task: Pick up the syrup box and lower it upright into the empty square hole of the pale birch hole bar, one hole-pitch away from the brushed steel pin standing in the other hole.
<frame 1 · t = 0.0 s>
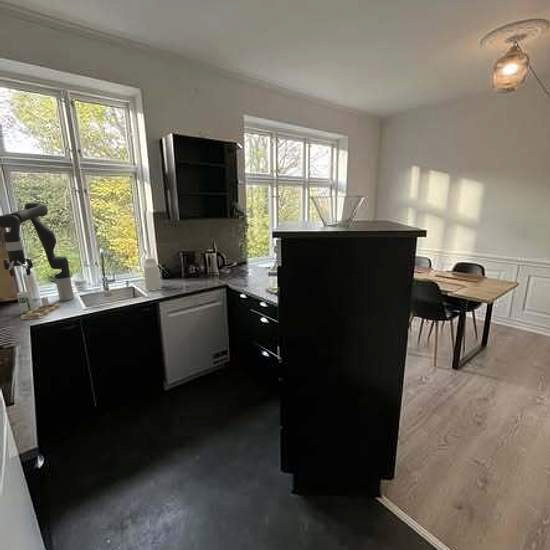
hand: (21, 275, 186), 29 cm above the table, tool pointing down, fingers open, 8 cm apart
steel pin: (46, 310, 211), resting in hole bar
syrup box: (28, 312, 208), on the table
hole bar: (42, 312, 206), on the table
milk: (154, 289, 257), on the table
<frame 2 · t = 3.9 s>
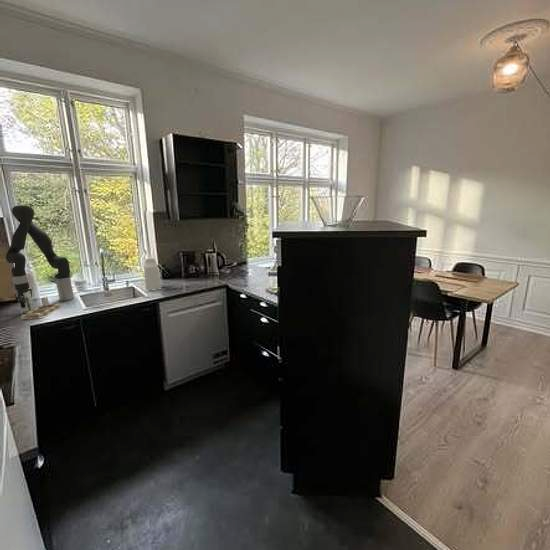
hand: (26, 305, 207), 5 cm above the table, tool pointing down, fingers closed on syrup box, 6 cm apart
syrup box: (28, 312, 208), on the table, touching gripper
everything else where it was.
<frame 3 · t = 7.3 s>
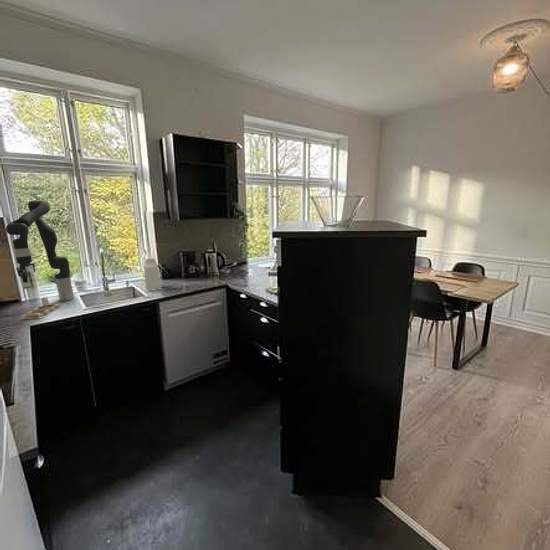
hand: (28, 281, 195), 24 cm above the table, tool pointing down, fingers closed on syrup box, 6 cm apart
syrup box: (30, 288, 196), point 19 cm above the table, touching gripper
everything else where it was.
when the fingers open (6 cm above the table, at t = 10.5 s): syrup box stays where it is, resting in hole bar.
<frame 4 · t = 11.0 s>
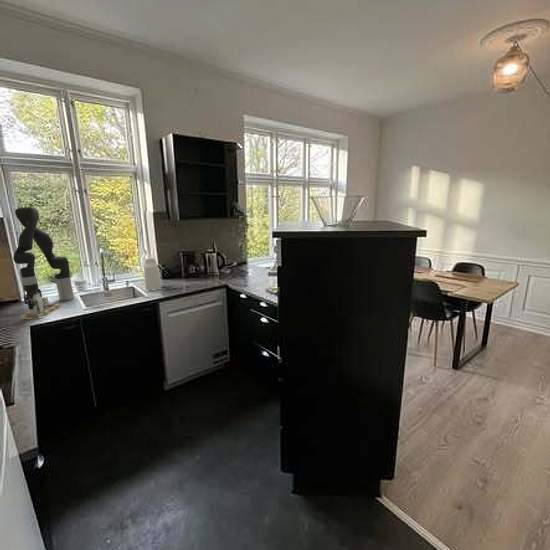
hand: (35, 307, 199), 6 cm above the table, tool pointing down, fingers open, 8 cm apart
syrup box: (37, 315, 201), resting in hole bar
everything else where it was.
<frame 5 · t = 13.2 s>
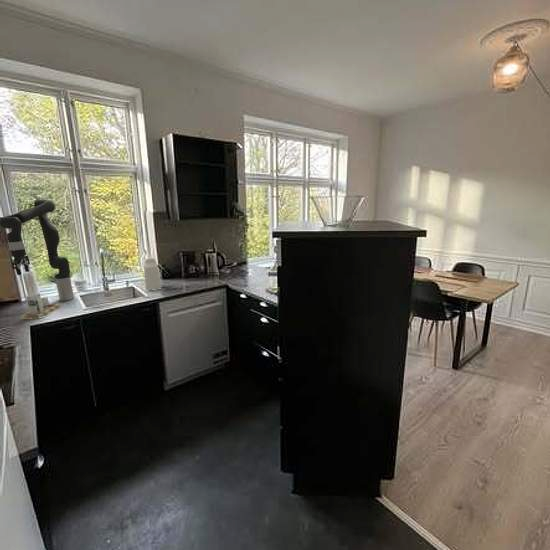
hand: (23, 273, 199), 28 cm above the table, tool pointing down, fingers open, 8 cm apart
nothing on the table moved.
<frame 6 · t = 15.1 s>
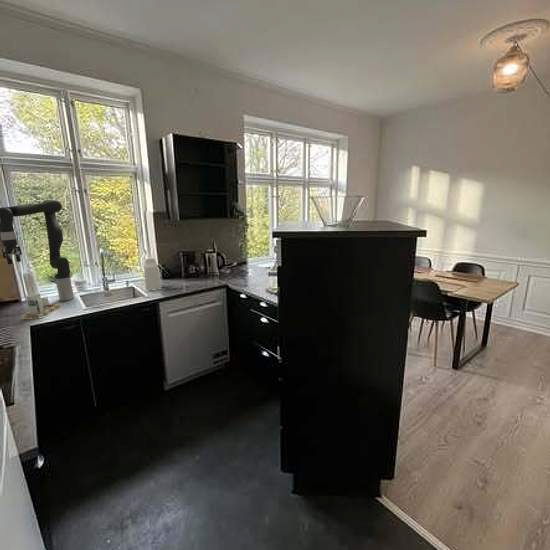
hand: (14, 263, 203), 34 cm above the table, tool pointing down, fingers open, 8 cm apart
nothing on the table moved.
at the end: syrup box 0.3 cm from the target spot on the hole bar, point 0.0 cm above the hole bar's base; syrup box tilted 0°; the gripper is holding nothing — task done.
